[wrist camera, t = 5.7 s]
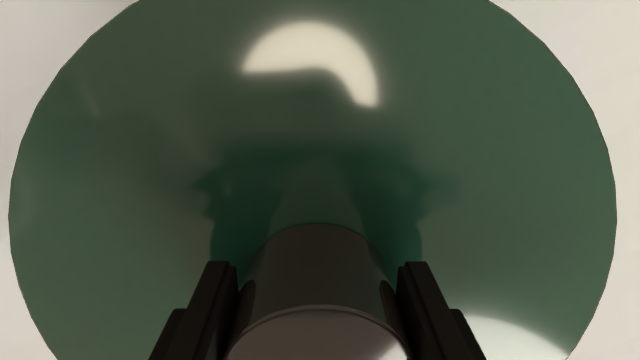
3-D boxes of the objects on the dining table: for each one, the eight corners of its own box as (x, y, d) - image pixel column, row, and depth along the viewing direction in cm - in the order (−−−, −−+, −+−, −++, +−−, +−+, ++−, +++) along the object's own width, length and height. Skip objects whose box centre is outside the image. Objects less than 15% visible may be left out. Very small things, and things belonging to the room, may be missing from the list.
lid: (95, 450, 16) (11, 613, 12) (-44, -48, 10) (-354, -113, 5) (527, 447, 16) (607, 604, 12) (671, -34, 10) (960, -83, 6)
